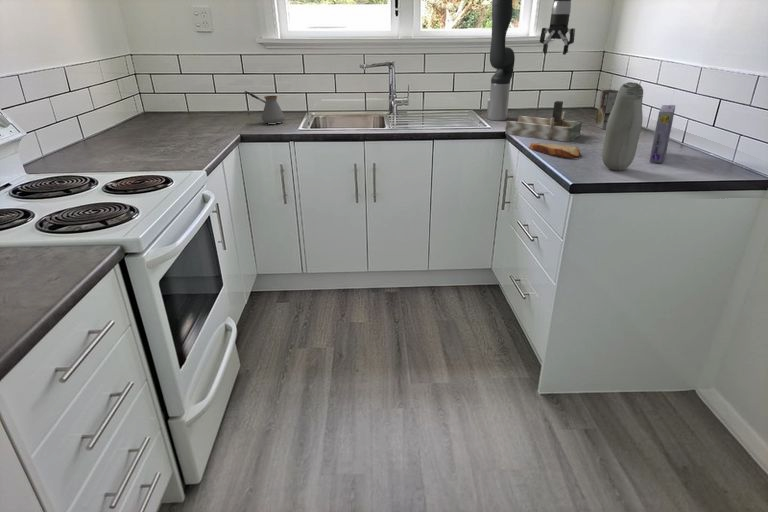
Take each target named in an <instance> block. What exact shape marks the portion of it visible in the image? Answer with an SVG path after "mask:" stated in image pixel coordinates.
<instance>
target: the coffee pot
mask: <svg viewBox="0 0 768 512" xmlns="http://www.w3.org/2000/svg"><path fill="white" fill-rule="evenodd" d="M245 94H246V95H249V96H251V97H252V98H254V99H256V100H259V101H261V102H263V103H264V108H263V111H262V114H261V121H263V122H264V123H265V122H267V123H277V122H282V123H283V121H285V117H286V116H285V115H284V113H283V110H282V109H281V107H280V105H279V103H278V101H277V98H278V96H277V95H266V96H264V99H265V100H263V98H260V97H258V95H257V96H256V95H255V94H254V93H252V92H251V93H250V92H249V91H246V90H244V92H243V95H245Z"/></svg>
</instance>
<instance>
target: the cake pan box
mask: <svg viewBox="0 0 768 512" xmlns="http://www.w3.org/2000/svg"><path fill="white" fill-rule="evenodd" d="M661 105H662V104H661ZM675 110H676V105H675V104H672V105H671V104H668V105H666V104H665V105H662V106H661V107H660V109H659V112H658V116H657V118H656V119H657V121H656V126H655V131H654V136H653V143H652V147H651V152H650V157H649V162H650V163H657V164H661V163H663V164H664V162H665V158H666V155H667V150H668V146H669V142H670V136H671V132H672V126H673V121H674V117H675V116H674V115H675V112H676V111H675Z"/></svg>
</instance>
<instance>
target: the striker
mask: <svg viewBox="0 0 768 512" xmlns="http://www.w3.org/2000/svg"><path fill="white" fill-rule="evenodd" d="M553 103H554V104H553V110H552V117H551V118H554V124H553V126H559V127H561V126H562V122H563V119H562V114H563V104H564V102H563V101H562V100H561V101H560V100H556V101H554V102H553ZM549 125H550V123H549Z"/></svg>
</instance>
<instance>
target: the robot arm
mask: <svg viewBox="0 0 768 512" xmlns="http://www.w3.org/2000/svg"><path fill="white" fill-rule="evenodd" d="M551 7H552V8H551V14H550V21H549V22H550V23H549V27H541V32H540V38H539V43H540V44H542V45H543V47H542V53H543V54H546V55H547V53H548V48H549V44H548V43H549V42H550V41H551V40H552V39H553V40H561V41H562V42H563V43H564V45H563V51H562V55H567V53H568V52H569V46H570V45H573V44H574V43H575V36H576V35H575V34H576V28H574V27H573V28H569V22H570V15H571V11H572V10H571V9H572V0H553V4H552V6H551ZM512 18H513V0H491V41H490V51H489V62H490V66H491V67H492V68H493V69H495V70H496V71H495V73H494V74H493V75H492V76H491V77H490V78H491V79H490V87H489V88H490V91H489V98H488V99H487V108H486V109H487V110H486V120H487V119H488V120H490V121H506V120H507V118H508V109H509V108H508V107H509V99H510V89H511V88H510V87H511V81H512V78H513V75H514V69H515V60H516V59H515V52H514V50H513V48H511V47H507V46H506V39H507V38H506V37H507V32H508V29H509V28H510V27H509V26H510V24H511V20H512ZM547 33H548V34H549V35H548V36H547V37H546V34H547ZM567 34H569V38H568V37H567ZM545 38H546V39H545ZM568 39H569V40H568Z"/></svg>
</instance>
